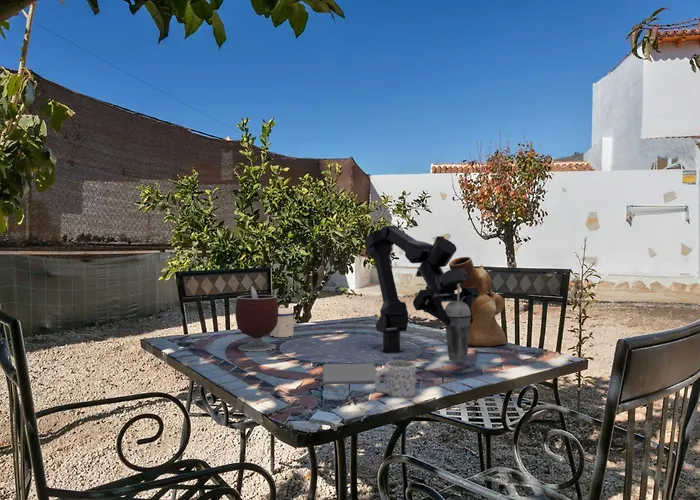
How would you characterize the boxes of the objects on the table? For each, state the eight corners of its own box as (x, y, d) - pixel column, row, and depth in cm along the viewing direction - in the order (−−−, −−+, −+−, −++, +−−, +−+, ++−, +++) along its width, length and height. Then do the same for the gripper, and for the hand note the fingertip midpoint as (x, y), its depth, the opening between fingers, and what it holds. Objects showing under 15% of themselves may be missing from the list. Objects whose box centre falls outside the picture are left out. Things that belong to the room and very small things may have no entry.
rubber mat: (323, 366, 135) (323, 364, 135) (373, 365, 136) (373, 363, 136) (323, 384, 117) (323, 381, 117) (380, 383, 118) (380, 380, 118)
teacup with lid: (275, 333, 189) (275, 303, 189) (297, 334, 187) (297, 304, 187) (262, 338, 178) (262, 307, 178) (285, 340, 175) (285, 307, 175)
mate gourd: (283, 350, 157) (282, 288, 157) (239, 354, 151) (239, 290, 151) (271, 342, 171) (271, 285, 171) (231, 345, 166) (231, 286, 166)
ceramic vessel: (516, 345, 165) (515, 256, 165) (467, 352, 154) (467, 257, 154) (482, 338, 178) (482, 256, 178) (435, 343, 168) (435, 256, 168)
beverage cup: (438, 360, 127) (437, 283, 127) (452, 355, 132) (451, 281, 132) (463, 364, 122) (462, 285, 122) (477, 359, 127) (476, 283, 127)
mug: (404, 387, 115) (404, 359, 115) (421, 394, 109) (421, 365, 109) (367, 393, 110) (367, 364, 110) (383, 401, 104) (383, 370, 104)
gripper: (419, 258, 126) (445, 306, 117) (475, 258, 135) (504, 302, 125) (402, 286, 133) (426, 333, 124) (456, 284, 142) (482, 328, 132)
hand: (460, 323), depth 126 cm, fingers closed on beverage cup, 7 cm apart
